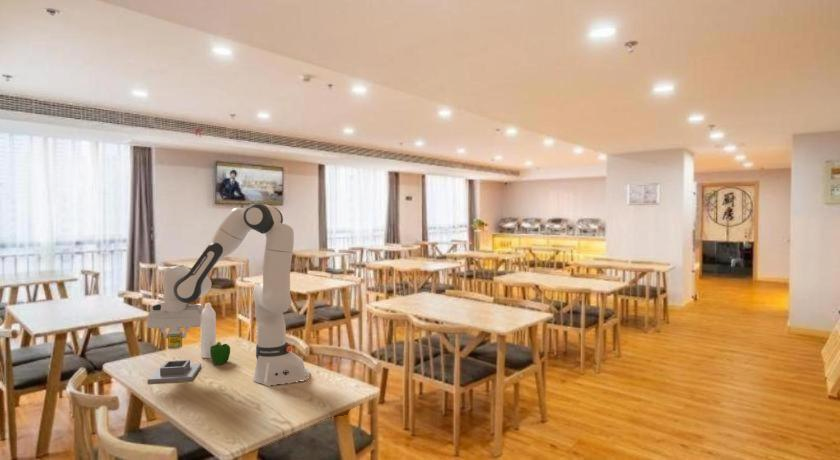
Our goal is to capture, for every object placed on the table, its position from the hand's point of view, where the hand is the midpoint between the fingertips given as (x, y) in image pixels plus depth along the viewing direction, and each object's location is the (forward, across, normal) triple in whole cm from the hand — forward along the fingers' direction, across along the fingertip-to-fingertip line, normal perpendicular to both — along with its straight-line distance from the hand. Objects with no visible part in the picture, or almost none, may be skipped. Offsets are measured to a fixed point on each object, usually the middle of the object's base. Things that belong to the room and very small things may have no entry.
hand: (175, 337), depth 193 cm
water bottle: (+16, -7, -22) cm, 28 cm away
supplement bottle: (+4, 0, 0) cm, 4 cm away
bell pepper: (+16, -15, -12) cm, 25 cm away
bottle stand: (+15, 0, 0) cm, 16 cm away
